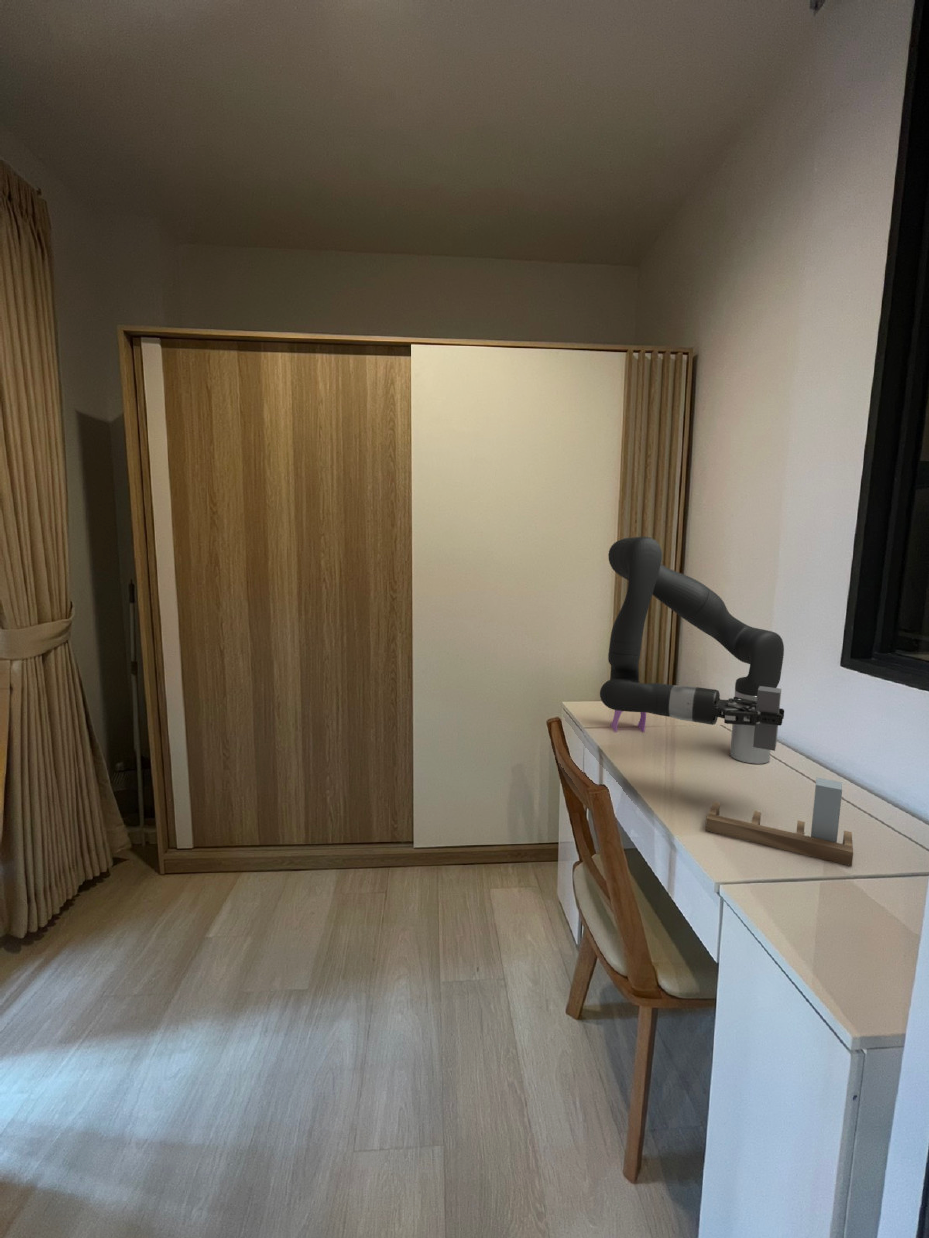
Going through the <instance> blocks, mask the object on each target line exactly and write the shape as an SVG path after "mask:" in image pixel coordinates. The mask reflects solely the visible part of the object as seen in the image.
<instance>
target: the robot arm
mask: <svg viewBox="0 0 929 1238" xmlns="http://www.w3.org/2000/svg"><path fill="white" fill-rule="evenodd" d="M662 559H663V553H662V548H661V546H660V544H659V542H658V541H657V540H655V539H654V538H652V537H650V536H635V537H634V536H633V537H625V538H622V539H619V540H617V541H615V542H614V543H613V544H612V545H611V546H610V547H609V550H608V561H609V565H610V567H611V568H612V570H613V572H615V573H616V574H617V575H618V576H620V577H621V578H623V579H625V580H627V582H628V583H627V590H626V594H625V598H624V600H623V603H622V605H621V608H620V609H619V611H618V614H617V616H616V618H615V620H614V622H613V626H612V628H611V632H610V637H609V638H610V640H609V645H608V646H609V647H608V655H607V660H608V664H609V665H610V679H609V680H607V681H606V682H605V683H603V684H602V685H601V688H600V690H599V698H600V700H601V702H602V703H603V705H605V706H606V707H607V708H609V709H611V710H614V711H615V710H618V711H623V712H631V713H632V712H633V713H640V712H646V714H652V715H655V716H656V715H657V716H664V717H668V718H673V719H677V720H680V721H686V722H694V723H700V724H706V725H711V726H715V725H716V723H717V722H718V718H721V719H724V720H723V721H724V724H727V725H732V728H731V739H730V749H729V751H730V752H729V755H730V757H731V758H733V759H735V760H737V761H739V762H743V763H749V764H757V765H758V764H767V763H769V762H771V761H770V759H771V752H772V750H767V749H761V748H756V747H753V742H754V730H755V725H756V724H760V723H765V724H772V725H778V727H779V726H782V724H783V719H784V717H785V709H784V708H781V707H780V710H779V714H776V713H769V712H762V714H761V711H759V710H756V706H757V694H758V689H759V687H760V686H764V687H772V688H778V686H779V683H780V682H781V675H782V669H783V663H784V662H783V661H784V656H785V644H784V642H783V641H784V640H783V638H782V636H780V634H779V633H777V632H775V631H771V630H767V629H763V628H757V627H754V626H753V627H752V626H751V625H748V624H746V623H744V622H742V621H740V620H739V619H738V618H736V617H735V616H733V615H732V614H731V613H730V612H729V610H728V607H727V606H726V604H725V602H724V600H723V599H722V598H721V597H720V595H718V594H717V593H716V592H715V591H713V590H712V589H710V588H709V587H708V586H706V585H705V584H704V583H702V582H701V581H700V580H699V581H698V580H697V579H694V577H691V576H688V575H686V574H683V573H681V572H679V571H676V570H673V569H671V568H668V567H666V566H665V565H664V564H662V561H663V560H662ZM652 596H653V597H655V598H656V599H657V600H658V601H659V602H661V603H662V604H663V605H664V606H666V607H667V608H669V609H670V610H672V611H673V612H674V613H675V614H676V615H678V616H679V617H681V618H682V619H683V620H685V621H687V622H688V623H689V624H690V625H692V626H694V627H695V628H696V629H699V630H700V631H701V632H703V633H705V634H706V635H708V636H710V637H711V638H713V639H714V640H715V641H717V643H719V644H721V646H723V648H724V649H726V650H727V651H728V652H729V653H730V654H731V655H732V656H733V657H734V658H735V659H737V660H738V661H740V662H742V663H745V664H747V665H749V669H748V674H747V676H742V677H739V678H737V679H736V680H735V685H734V696H733V697H732V698H731V697H730V698H728V699H721V698H720V697H721V695H720V691H719V690H718V689H715V688H714V689H713V688H707V687H706V688H705V687H698V686H691V685H690V686H689V685H675V684H667V683H660V682H659V683H658V682H653V683H641V682H640V670H639V667H640V666H639V664H640V663H639V662H640V658H641V657H640V656H641V650H642V643H643V634H644V627H645V622H646V619H647V615H648V610H649V607H650V603H651V600H652Z"/></svg>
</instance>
